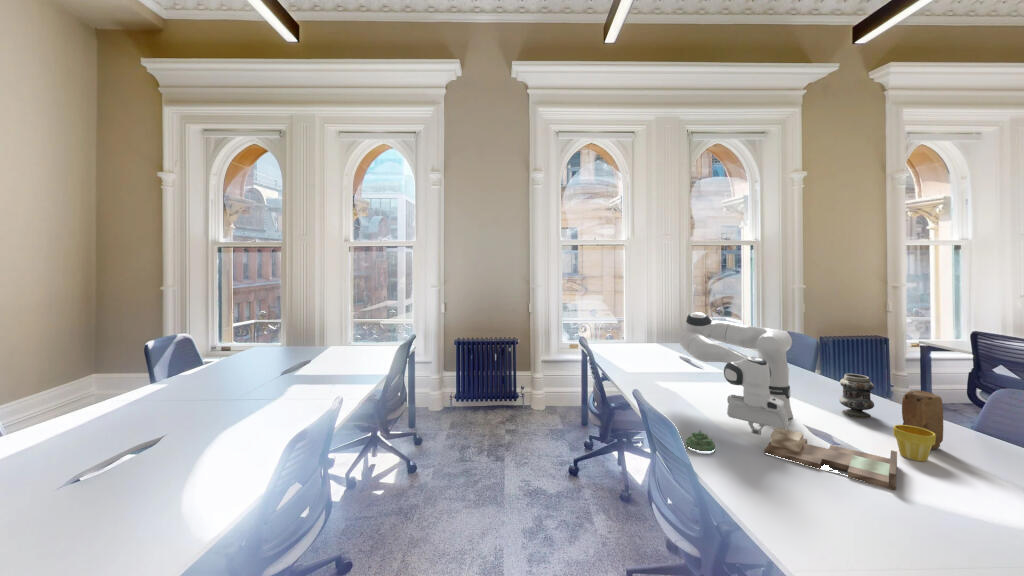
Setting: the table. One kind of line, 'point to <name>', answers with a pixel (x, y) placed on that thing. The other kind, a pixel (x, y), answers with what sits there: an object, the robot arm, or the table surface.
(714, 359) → the robot arm
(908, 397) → the block
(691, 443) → the decorative artifact
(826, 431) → the table surface
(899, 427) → the plant pot
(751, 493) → the table surface
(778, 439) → the maple block
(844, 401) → the apothecary jar
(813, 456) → the box
